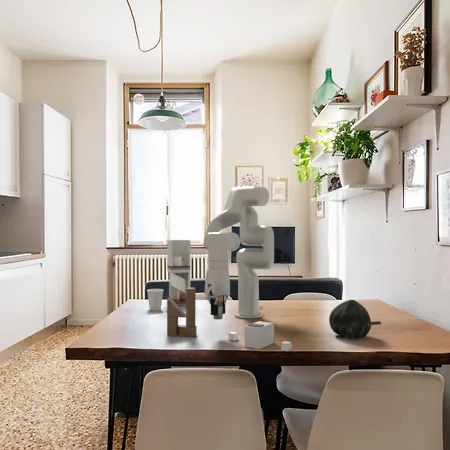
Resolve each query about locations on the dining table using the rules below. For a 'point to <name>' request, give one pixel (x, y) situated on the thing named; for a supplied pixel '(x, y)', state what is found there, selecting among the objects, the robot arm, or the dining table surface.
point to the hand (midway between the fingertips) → (218, 313)
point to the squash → (350, 320)
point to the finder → (259, 334)
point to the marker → (286, 346)
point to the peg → (219, 307)
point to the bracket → (375, 322)
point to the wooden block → (176, 312)
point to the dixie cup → (155, 299)
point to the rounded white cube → (233, 336)
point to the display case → (178, 269)
